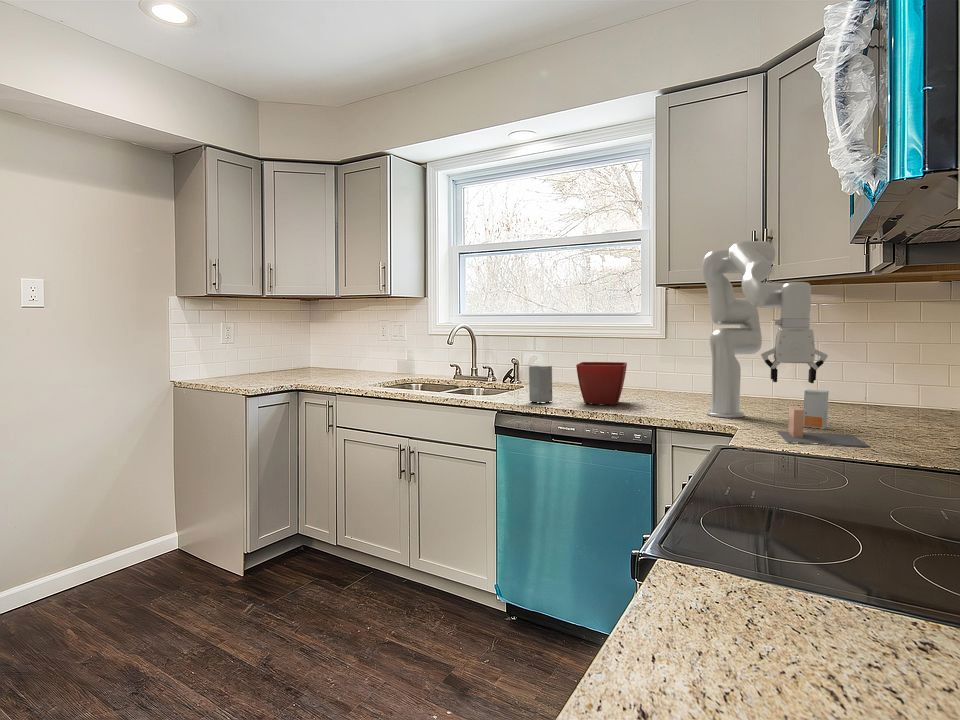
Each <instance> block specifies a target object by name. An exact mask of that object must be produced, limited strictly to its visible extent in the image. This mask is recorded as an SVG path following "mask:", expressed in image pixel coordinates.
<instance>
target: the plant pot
mask: <svg viewBox="0 0 960 720" xmlns="http://www.w3.org/2000/svg"><path fill="white" fill-rule="evenodd" d="M627 365H628V362H620V361H618V362H617V361H615V362H614V361H582V362H579V363H578V364H576V366H575V367H576V373H577V374H576V375H577V380H578V385H579V389H580V393H581V396H582V400H583V402H584V404H585V403H592V404H591V405H593V404H612V405H611V406H617V405H618V403H619V401H620V398H621V396H622V391H623V388H624V382H625V380H626V379H625V378H626V373H627V367H628V366H627ZM616 404H617V405H616Z"/></svg>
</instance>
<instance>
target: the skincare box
mask: <svg viewBox="0 0 960 720" xmlns="http://www.w3.org/2000/svg"><path fill="white" fill-rule="evenodd" d="M829 393H830V392H829V390H820V389H805V390H804V393H803V395H804V397H803V410H804V421H803V428H809V427H811V429H816V428H820V429H819V430H825V429H827V428H826V427H828V413H829V412H828V410H829V409H828V408H829ZM824 428H825V429H824Z"/></svg>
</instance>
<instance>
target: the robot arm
mask: <svg viewBox="0 0 960 720" xmlns="http://www.w3.org/2000/svg"><path fill="white" fill-rule="evenodd" d="M775 257H776V250H775V247H774V246H773V245H772V244H771V243H770V242H769V241H766V240H765V241H762V240H761V241H760V240H759V241H758V240H757V241H756V240H753V241H751V240H742V241H738V242H735V243H734V244H733V245H731V246H730V247H729V249H715V250H711V251H709V252H707V253H706V254H705V256H704V257H703V260H702V263H701V271H702V277H703V280H704V283H705V285H706V288H707V292H708V293H707V294H708V303H709V309H710V310H709V311H710V317H711V320H712V321H711V322H713V323H714V324H715V325H718V326H739V327H723V328H719V329H718V328H717V329H715V330H714V331H713V332H712V333H711V334H710V337H709V346H710V352H711V395H710V396H711V400H710V401H711V406H710V409H708V410H706V415H708V416H711V417H717V418H726V419H727V418H729V419H731V418H734V419H735V418H737V419H738V418H742V417H745V413H744V412H743V411H741V410H740V407H741V405H740V403H741V402H740V401H741V364H740V362H739V361H738V360H739V359H737V357H736V355H754V354H757V353H758V352H759V351H760V350H761V348H762V343H763V339H762V329H761V324H760V323H761V322H760V315H759V310H758V308H761V309H762V308H763V309H766V308H767V309H768V308H769V309H771V308H772V309H773V308H777V309H780V318H779V319H778V320H775V321H774V325H775V326H779V328H780V329H779V328H777V331H776V335H775V340H774V347H773V348H772V349H769V350H767V351H764V352H762V353H761V354H760V356H761V357H762V359H763V361H764V363H765V364H766V365H767V366H768V367H769V368H770V380H772V382H773V383H777V382H778V369H777V367H778V366H779V365H780V364H781V363H782V364H807V365H808V366H809V369H808V379H807V380H808V383H810V384H814V383H815V381H816V380H817V370H818V369H819V368H820V367H821V366H822V365H823V364H824V363H825V361H826V359H827V358H828V354H826V353H824V352H822V351H820V350H818V349H816V347H815V345H816V344H815V335H814V330H813V329H810V328H811V327H810V326H811V324H810V323H811V319H810V318H811V302H812V301H811V299H812V287H811V284H810V283H809V282H805V281H791V282H763V281H765V280H766V279H767V278H768V277H769V276H770V274H771V271H772V263H773V262H774V260H775ZM724 274H741V275H742V276H743V277H742V279H741V290H742V291H741V292H742V294H743V295H744V297H745V298H744V299H743V298H741V299H738V298H735V293H734V286H733V284H732V283H731V282H730V280H729V279H728V278H727V277H726V276H725V275H724ZM771 355H773V359H774V360H773V361H771V360H770V359H769V356H771ZM816 356H819V359H818V360H817V361H816V362H815V360H816Z"/></svg>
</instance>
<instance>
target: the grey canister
mask: <svg viewBox="0 0 960 720" xmlns="http://www.w3.org/2000/svg"><path fill="white" fill-rule="evenodd" d="M528 379H529V380H528V381H529V382H528V383H529V388H528V389H529V392H528V393H529V395H528V396H529V398H528V399H529V402H530V401H533V402H539V403H541V402H548V401H552V402H553V365H529V366H528Z"/></svg>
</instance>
